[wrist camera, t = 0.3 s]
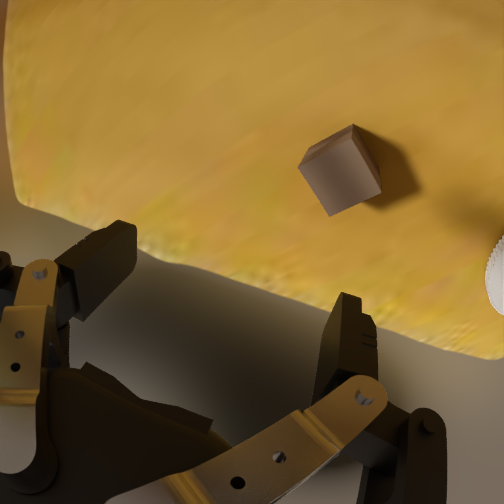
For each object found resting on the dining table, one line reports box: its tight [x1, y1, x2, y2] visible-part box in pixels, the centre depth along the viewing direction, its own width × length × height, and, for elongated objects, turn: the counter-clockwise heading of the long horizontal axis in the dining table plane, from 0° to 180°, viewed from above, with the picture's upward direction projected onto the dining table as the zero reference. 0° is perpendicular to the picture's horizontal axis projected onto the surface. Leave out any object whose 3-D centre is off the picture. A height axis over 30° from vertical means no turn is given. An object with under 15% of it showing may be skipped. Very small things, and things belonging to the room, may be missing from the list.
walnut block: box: [298, 124, 382, 217], centre depth 27 cm, size 5×5×6 cm
